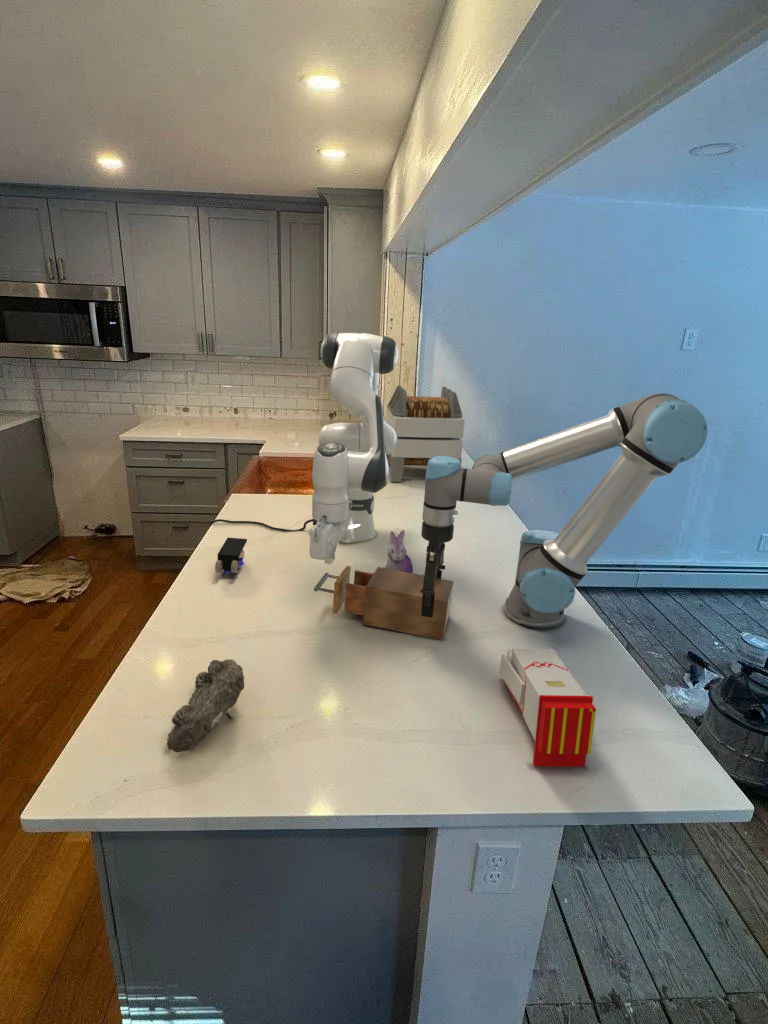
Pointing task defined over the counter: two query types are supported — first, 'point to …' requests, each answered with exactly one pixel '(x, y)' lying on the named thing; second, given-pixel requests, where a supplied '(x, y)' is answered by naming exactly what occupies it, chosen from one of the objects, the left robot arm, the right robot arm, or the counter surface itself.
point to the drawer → (347, 590)
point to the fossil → (206, 705)
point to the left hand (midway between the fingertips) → (329, 561)
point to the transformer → (423, 429)
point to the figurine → (398, 554)
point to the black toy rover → (230, 556)
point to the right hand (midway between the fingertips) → (430, 604)
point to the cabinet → (406, 603)
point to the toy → (550, 706)
